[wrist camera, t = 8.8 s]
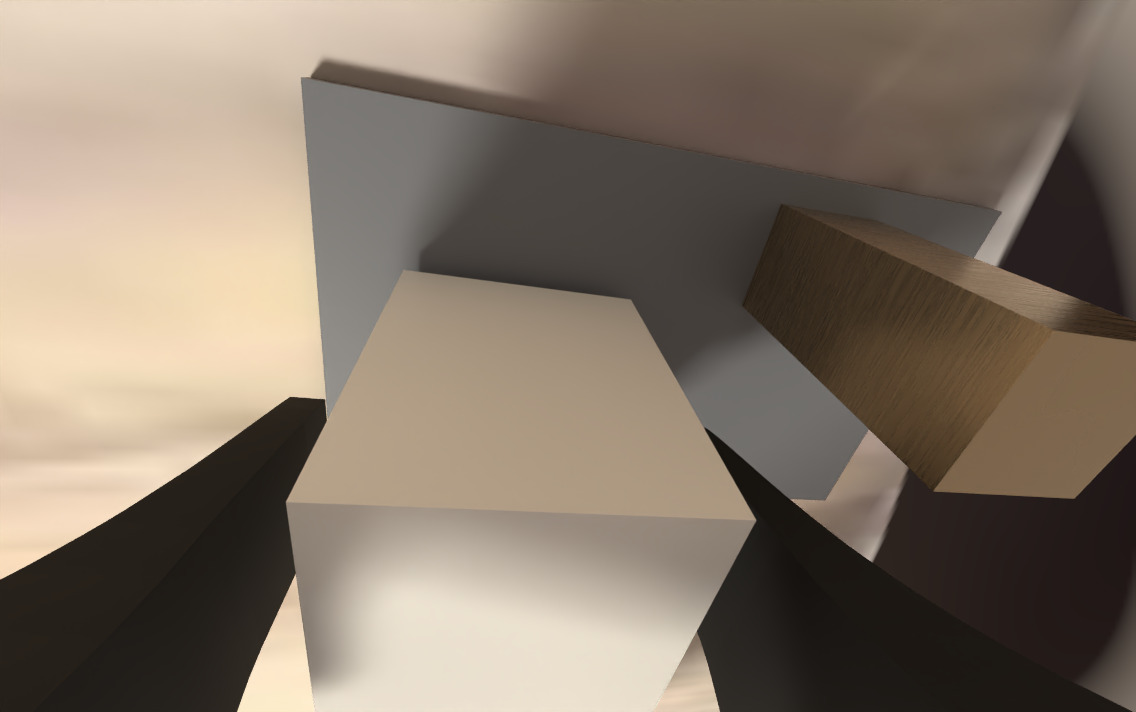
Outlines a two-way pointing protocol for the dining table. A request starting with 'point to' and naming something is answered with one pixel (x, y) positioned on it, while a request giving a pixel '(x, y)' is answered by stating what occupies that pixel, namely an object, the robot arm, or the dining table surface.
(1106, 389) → the bronze post
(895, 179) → the dining table surface
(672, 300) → the base board
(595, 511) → the beige block
